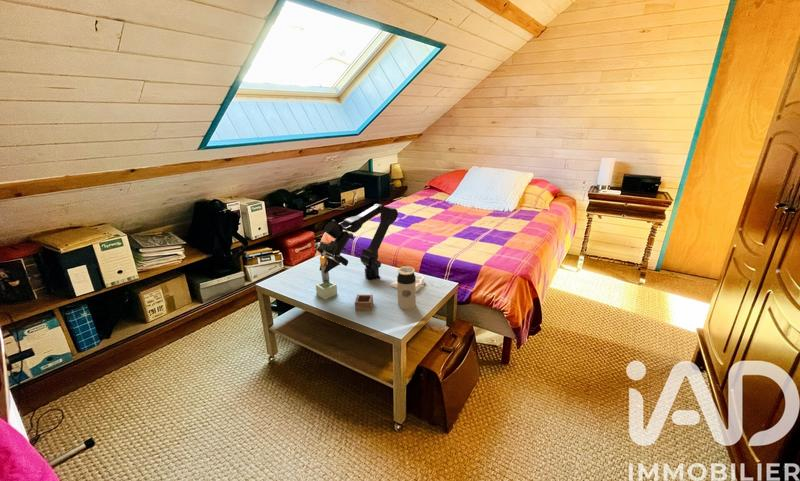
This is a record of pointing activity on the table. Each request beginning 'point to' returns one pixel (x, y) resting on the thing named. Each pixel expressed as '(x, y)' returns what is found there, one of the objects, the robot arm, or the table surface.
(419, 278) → the knuckle duster
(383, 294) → the table surface
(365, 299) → the brown square open box
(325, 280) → the gold and grey cylinder
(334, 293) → the cream square hollow block
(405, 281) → the travel mug
